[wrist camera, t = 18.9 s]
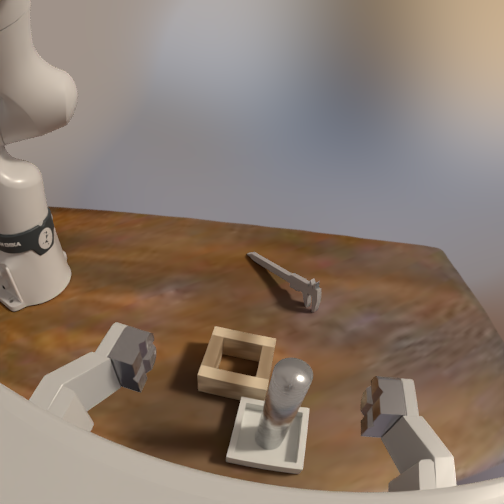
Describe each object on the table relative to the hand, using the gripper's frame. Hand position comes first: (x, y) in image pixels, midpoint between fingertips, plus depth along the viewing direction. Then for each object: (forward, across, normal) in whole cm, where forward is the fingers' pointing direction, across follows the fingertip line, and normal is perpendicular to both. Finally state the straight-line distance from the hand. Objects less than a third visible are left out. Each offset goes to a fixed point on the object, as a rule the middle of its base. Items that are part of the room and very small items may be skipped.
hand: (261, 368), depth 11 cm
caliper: (+43, 0, +30) cm, 53 cm away
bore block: (+20, +3, +30) cm, 36 cm away
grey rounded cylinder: (+10, -3, +29) cm, 31 cm away
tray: (+11, -3, +30) cm, 32 cm away
